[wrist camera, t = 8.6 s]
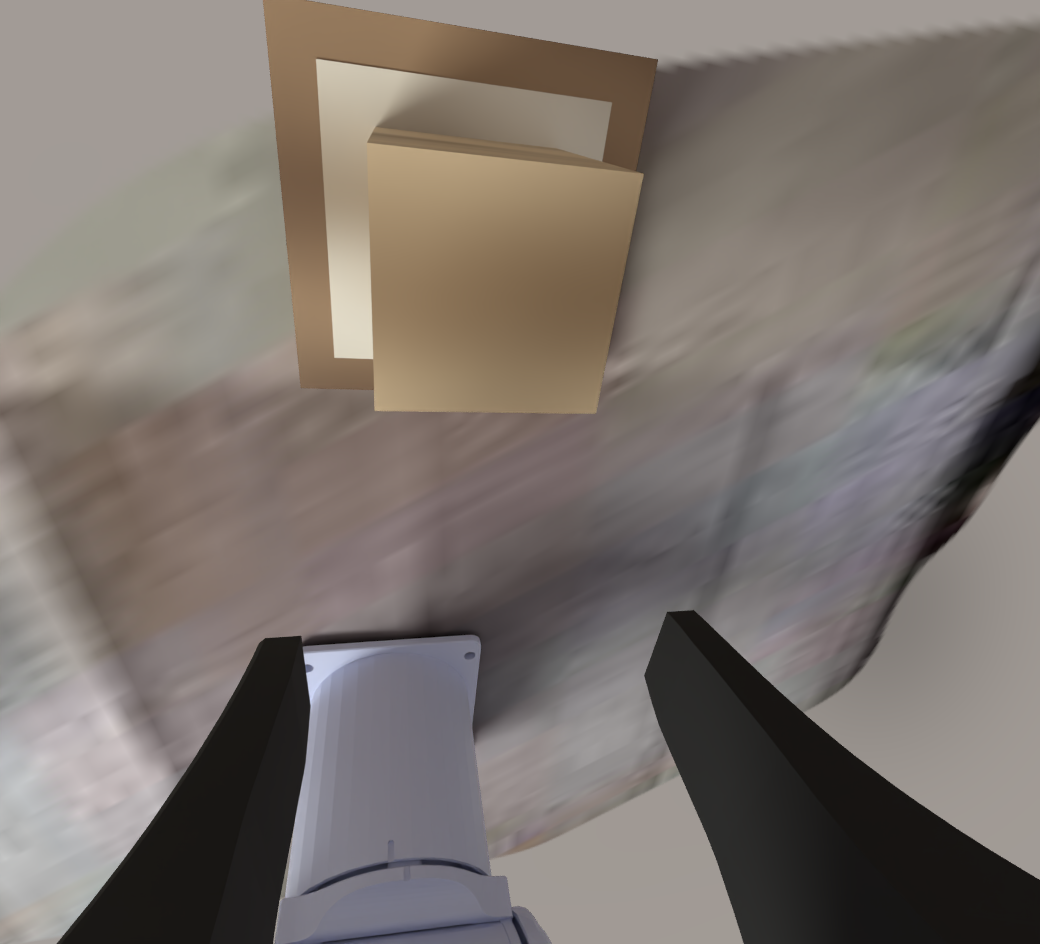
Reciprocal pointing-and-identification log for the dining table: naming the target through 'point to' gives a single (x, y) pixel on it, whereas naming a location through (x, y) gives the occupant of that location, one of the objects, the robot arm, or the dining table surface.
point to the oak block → (493, 273)
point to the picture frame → (420, 108)
